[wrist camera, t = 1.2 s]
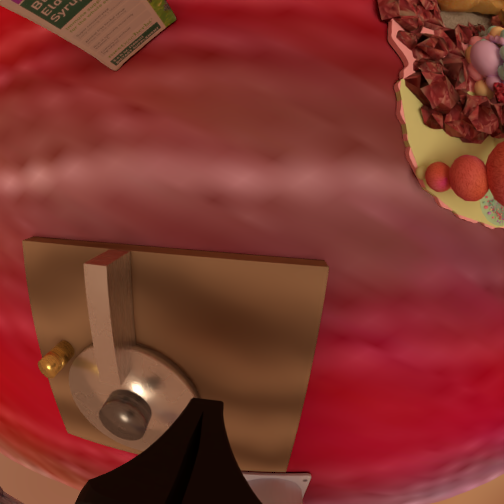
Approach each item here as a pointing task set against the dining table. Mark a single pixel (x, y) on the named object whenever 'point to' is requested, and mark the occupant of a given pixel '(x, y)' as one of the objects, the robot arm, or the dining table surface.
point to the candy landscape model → (452, 100)
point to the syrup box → (99, 24)
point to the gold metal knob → (56, 359)
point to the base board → (197, 332)
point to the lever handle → (123, 363)
